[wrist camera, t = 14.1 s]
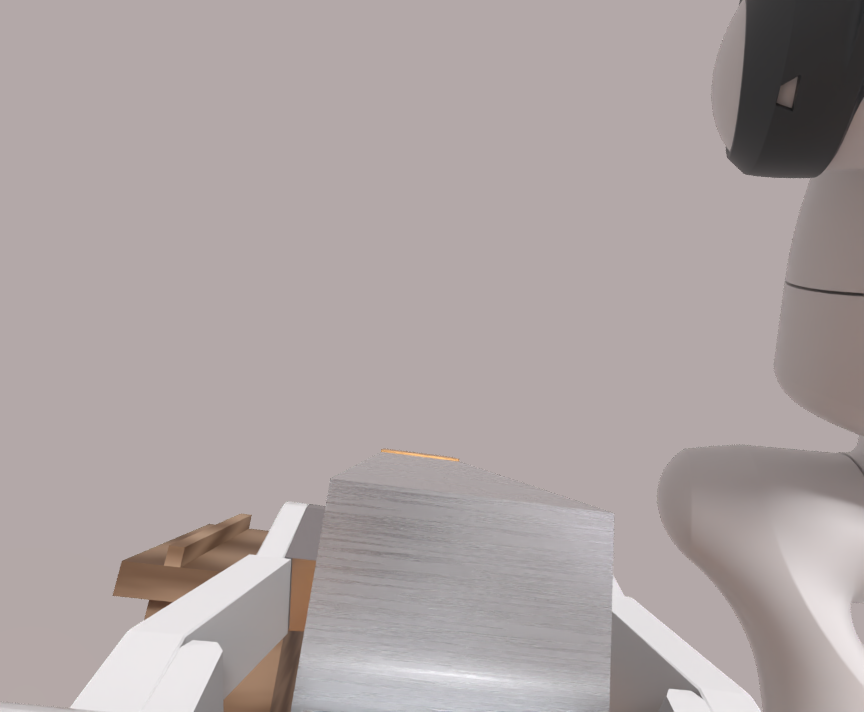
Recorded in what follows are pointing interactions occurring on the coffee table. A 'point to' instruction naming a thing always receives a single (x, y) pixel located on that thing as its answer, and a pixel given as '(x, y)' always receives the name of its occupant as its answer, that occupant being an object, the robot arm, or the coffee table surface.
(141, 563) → the stand
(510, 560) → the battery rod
